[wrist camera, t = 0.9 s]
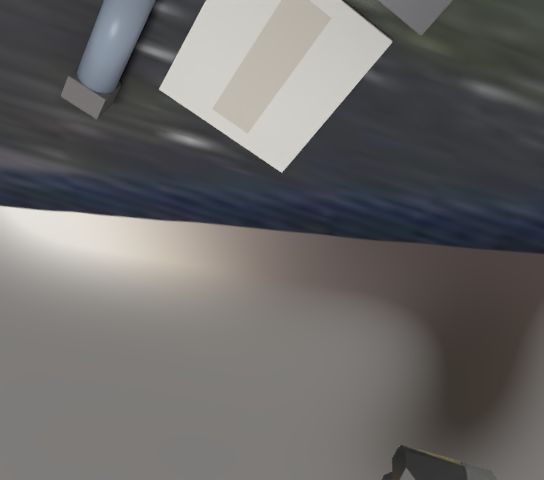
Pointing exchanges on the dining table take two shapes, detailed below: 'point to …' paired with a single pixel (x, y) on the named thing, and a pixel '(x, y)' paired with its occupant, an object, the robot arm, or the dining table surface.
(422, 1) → the button base
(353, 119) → the dining table surface
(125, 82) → the dining table surface
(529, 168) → the dining table surface
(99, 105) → the marker blue
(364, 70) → the paper
